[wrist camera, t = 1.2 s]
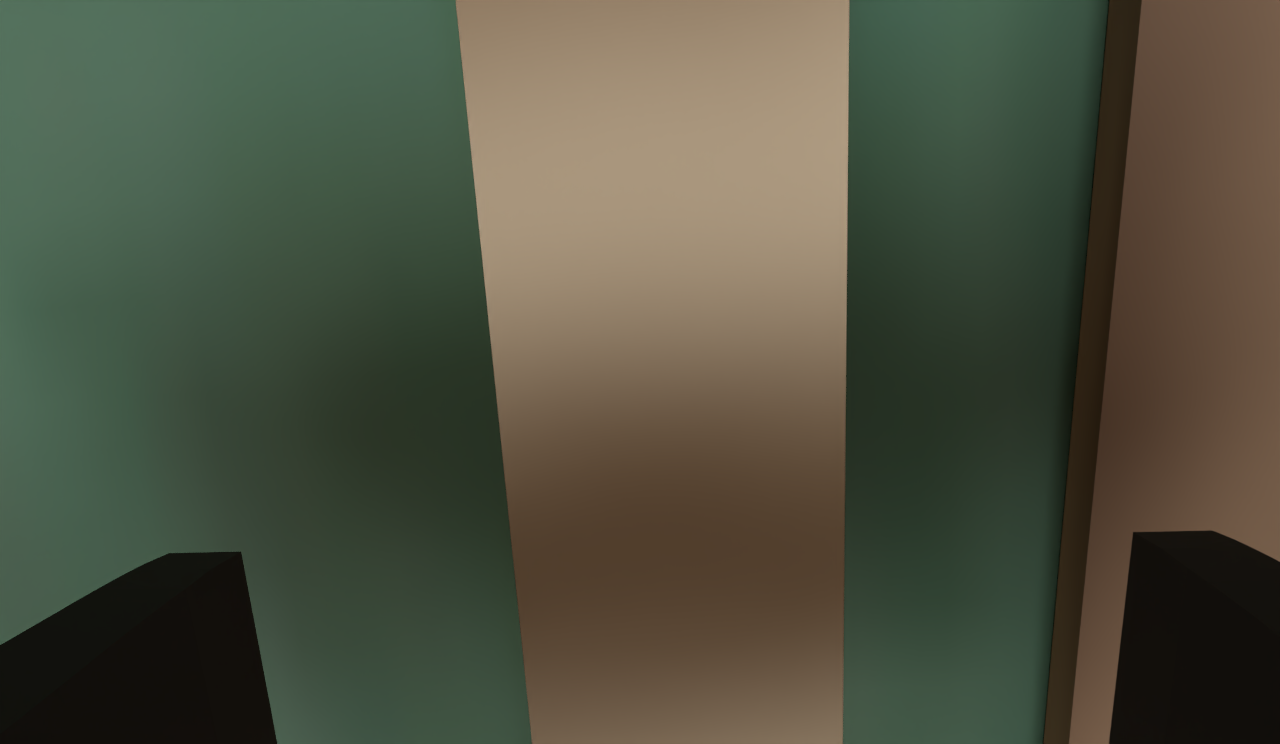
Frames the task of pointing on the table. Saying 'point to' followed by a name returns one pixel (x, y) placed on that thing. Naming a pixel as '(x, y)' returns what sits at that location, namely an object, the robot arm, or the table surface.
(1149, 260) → the ridge stand
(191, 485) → the table surface
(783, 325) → the maple bar
